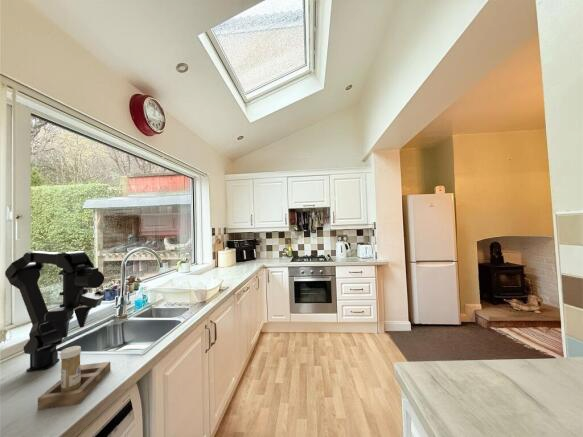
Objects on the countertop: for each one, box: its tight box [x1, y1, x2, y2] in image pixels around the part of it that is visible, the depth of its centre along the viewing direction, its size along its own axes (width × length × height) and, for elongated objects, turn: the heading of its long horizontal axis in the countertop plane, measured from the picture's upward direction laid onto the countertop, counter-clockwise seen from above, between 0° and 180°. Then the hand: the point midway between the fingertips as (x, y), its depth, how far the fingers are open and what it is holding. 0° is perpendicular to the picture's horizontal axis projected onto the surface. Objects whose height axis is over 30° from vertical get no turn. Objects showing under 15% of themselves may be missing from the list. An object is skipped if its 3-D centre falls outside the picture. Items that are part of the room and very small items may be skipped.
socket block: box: [37, 361, 111, 411], centre depth 79 cm, size 10×17×3 cm, turn 11°
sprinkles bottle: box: [60, 345, 82, 392], centre depth 75 cm, size 5×5×14 cm
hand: (73, 332), depth 89 cm, fingers open, 9 cm apart
